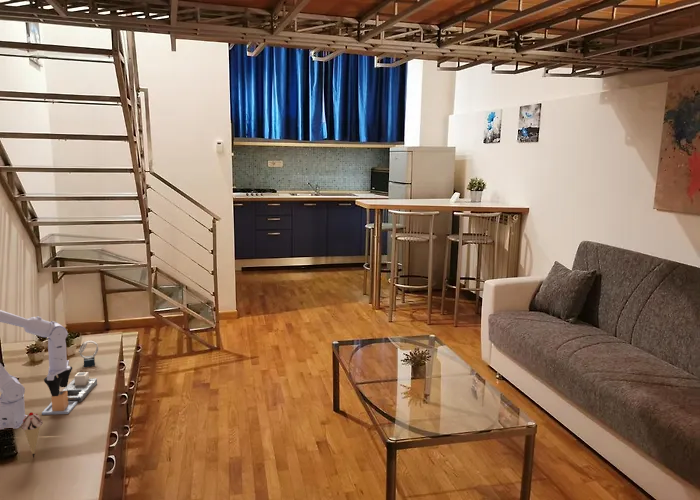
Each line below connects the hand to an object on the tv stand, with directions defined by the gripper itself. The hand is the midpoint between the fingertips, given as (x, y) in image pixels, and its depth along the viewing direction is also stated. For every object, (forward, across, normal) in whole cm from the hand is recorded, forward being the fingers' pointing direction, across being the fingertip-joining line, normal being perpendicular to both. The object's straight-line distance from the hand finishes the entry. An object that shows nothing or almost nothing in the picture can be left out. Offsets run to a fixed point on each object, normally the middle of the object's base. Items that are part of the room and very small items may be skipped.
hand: (59, 391), depth 192 cm
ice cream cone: (+7, -33, -5) cm, 34 cm away
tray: (+7, 0, 0) cm, 7 cm away
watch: (+8, +45, +5) cm, 46 cm away
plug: (+7, 0, 0) cm, 7 cm away
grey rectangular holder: (+7, +14, -1) cm, 16 cm away
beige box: (+7, +19, -1) cm, 20 cm away
